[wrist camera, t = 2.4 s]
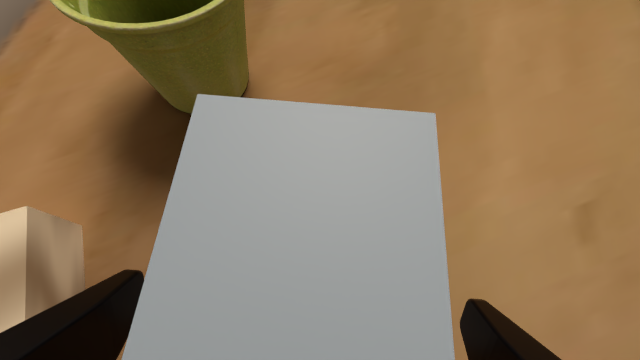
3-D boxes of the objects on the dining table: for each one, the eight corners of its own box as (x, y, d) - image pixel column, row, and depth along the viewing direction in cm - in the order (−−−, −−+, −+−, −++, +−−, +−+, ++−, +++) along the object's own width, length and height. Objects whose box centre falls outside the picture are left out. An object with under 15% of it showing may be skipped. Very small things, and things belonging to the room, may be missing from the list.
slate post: (347, 330, 16) (457, 398, 4) (262, 323, 16) (118, 369, 4) (351, 244, 18) (435, 113, 6) (273, 237, 18) (197, 93, 6)
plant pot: (292, 51, 23) (282, -83, 15) (238, 155, 20) (190, 52, 12) (181, 19, 24) (117, -123, 16) (112, 113, 21) (-13, -10, 13)
